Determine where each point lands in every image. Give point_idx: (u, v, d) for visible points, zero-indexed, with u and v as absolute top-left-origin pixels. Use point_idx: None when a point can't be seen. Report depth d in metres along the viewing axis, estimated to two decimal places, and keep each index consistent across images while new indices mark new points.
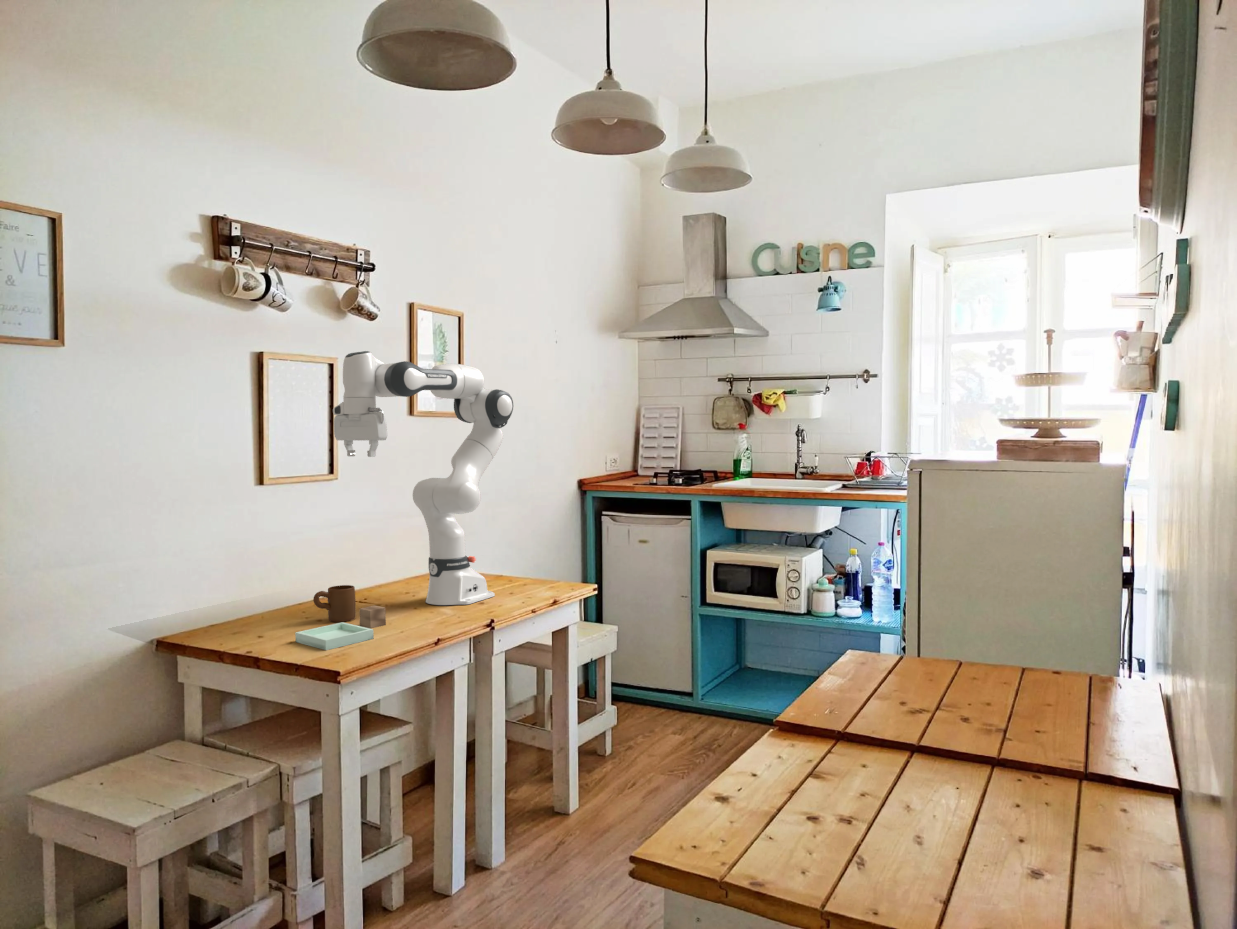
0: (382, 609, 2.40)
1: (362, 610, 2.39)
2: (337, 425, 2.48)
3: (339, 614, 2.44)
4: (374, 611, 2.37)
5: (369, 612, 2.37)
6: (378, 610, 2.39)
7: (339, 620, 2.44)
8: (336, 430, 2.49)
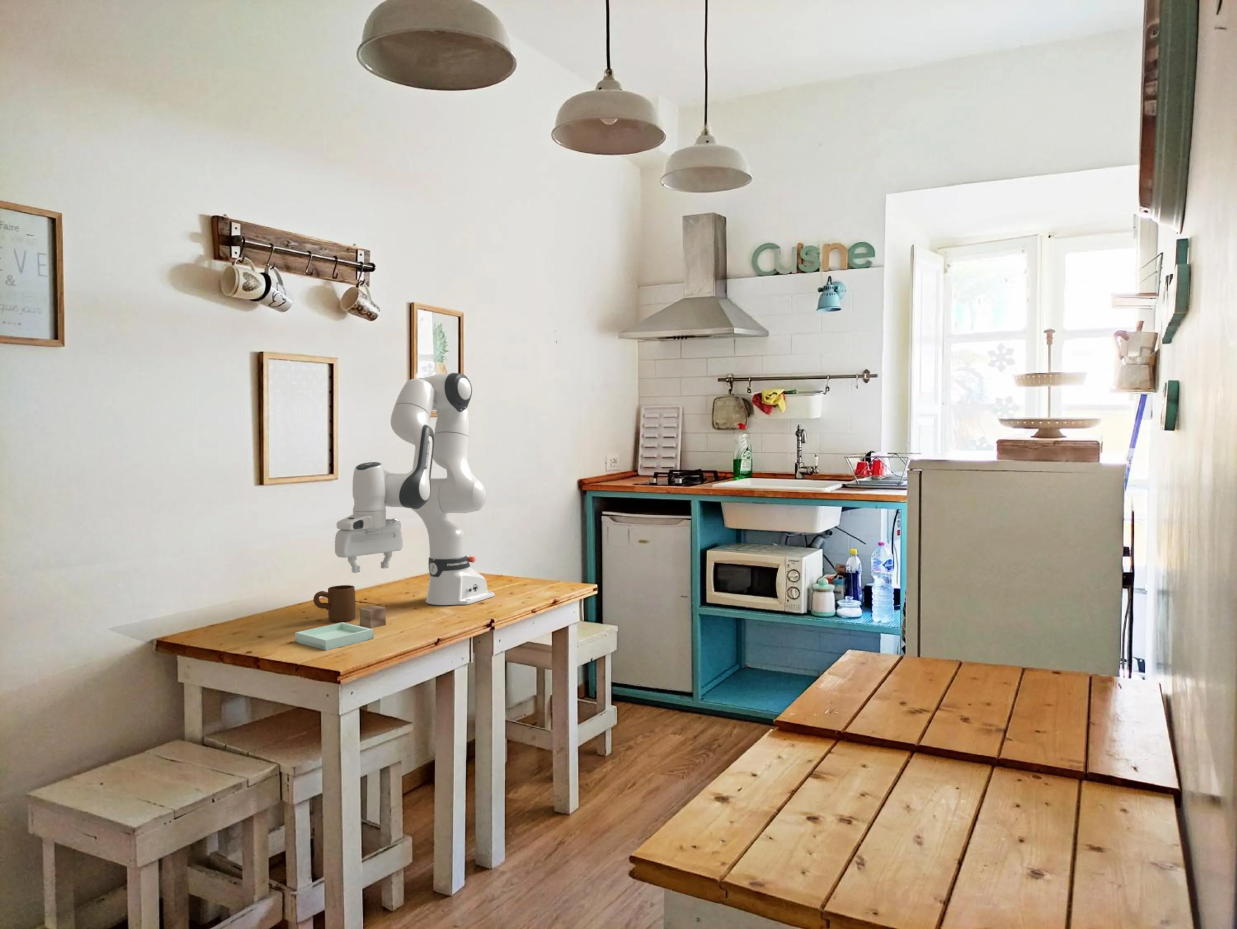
0: (382, 609, 2.40)
1: (362, 610, 2.39)
2: (348, 541, 2.31)
3: (339, 614, 2.44)
4: (374, 611, 2.37)
5: (369, 612, 2.37)
6: (378, 610, 2.39)
7: (339, 620, 2.44)
8: (347, 547, 2.31)
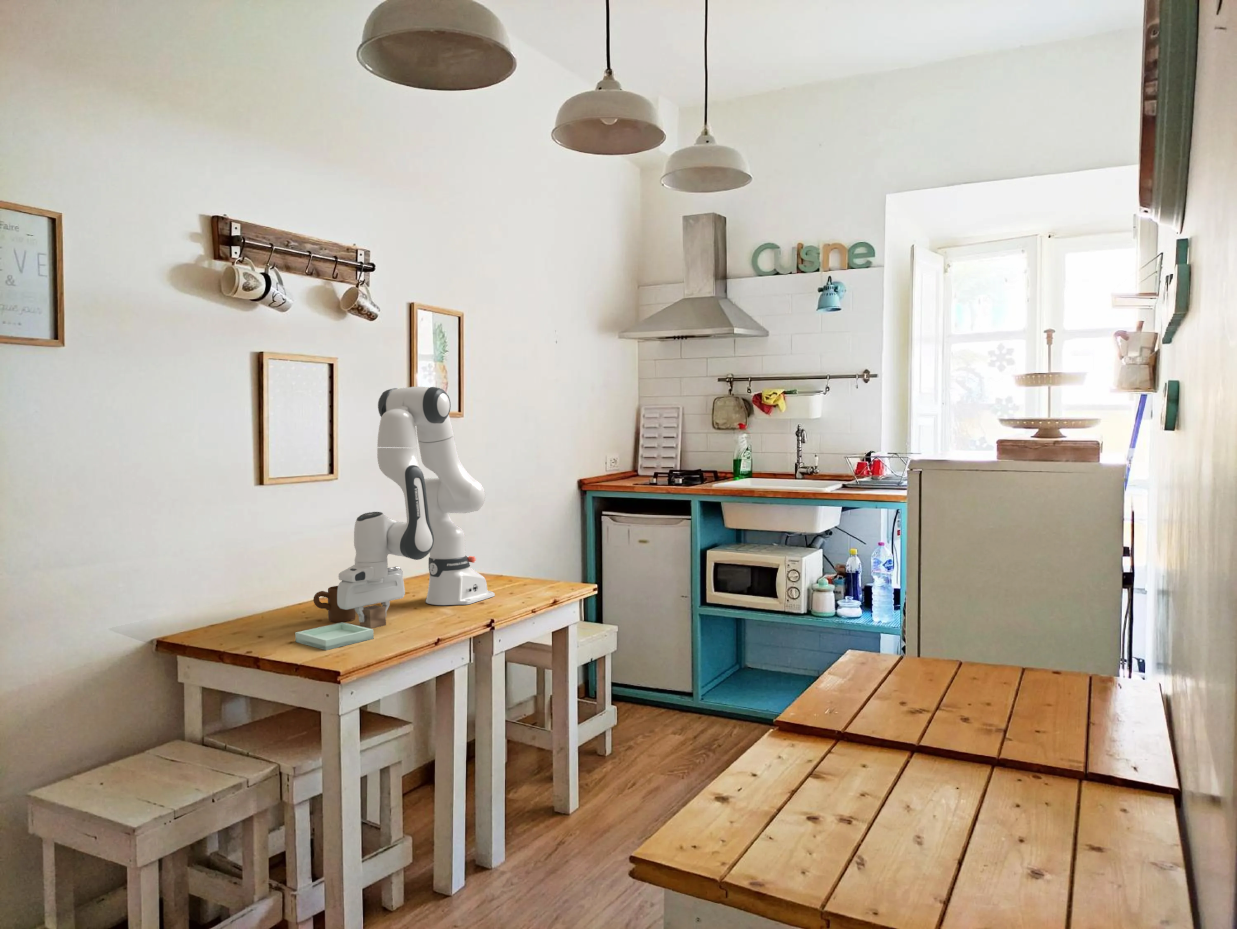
0: (382, 609, 2.40)
1: (362, 610, 2.39)
2: (351, 593, 2.32)
3: (339, 614, 2.44)
4: (374, 611, 2.37)
5: (369, 612, 2.37)
6: (378, 610, 2.39)
7: (339, 620, 2.44)
8: (349, 599, 2.32)
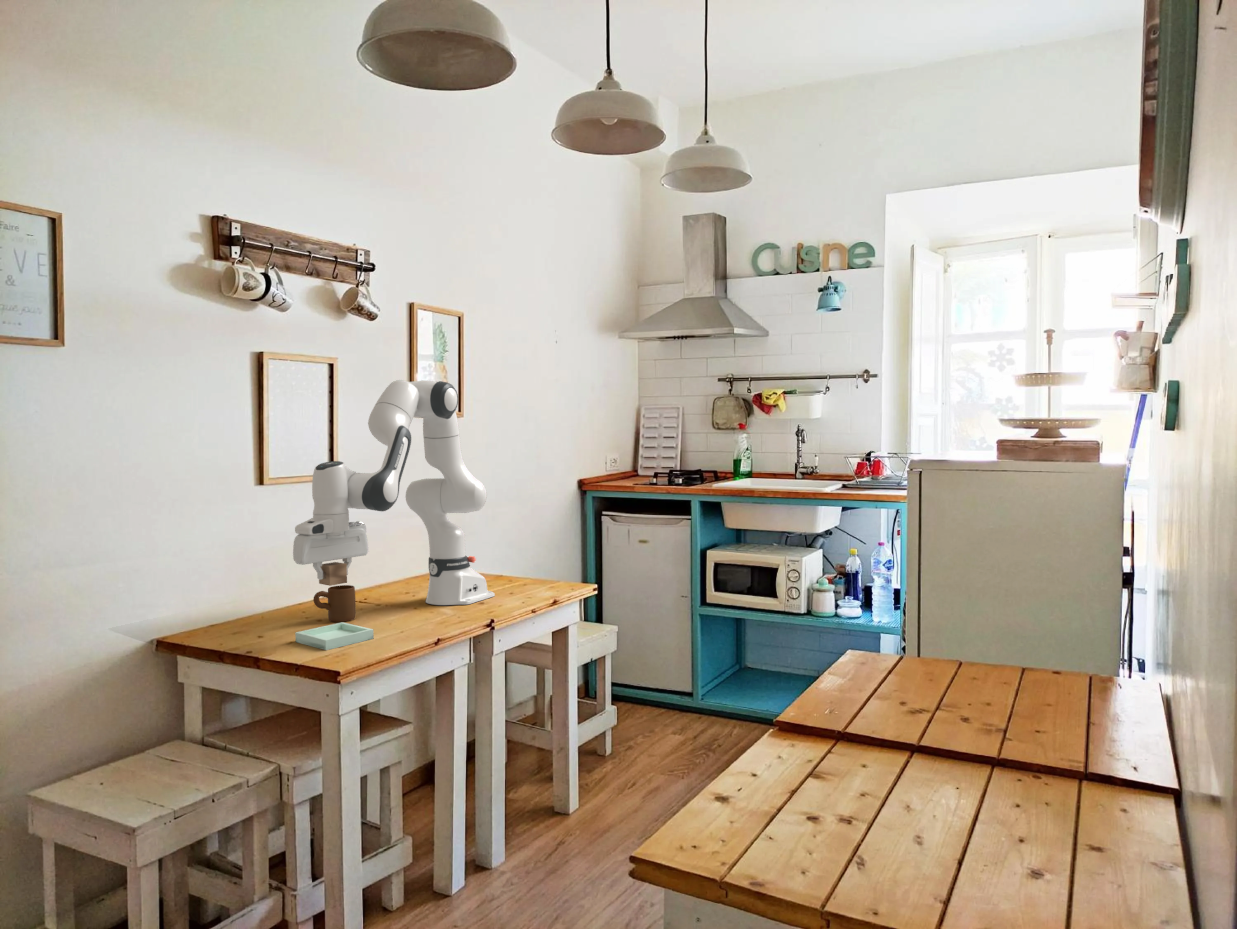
0: (343, 565, 2.23)
1: (321, 566, 2.22)
2: (307, 547, 2.15)
3: (339, 614, 2.44)
4: (333, 567, 2.21)
5: (328, 568, 2.20)
6: (338, 566, 2.22)
7: (339, 620, 2.44)
8: (305, 553, 2.15)
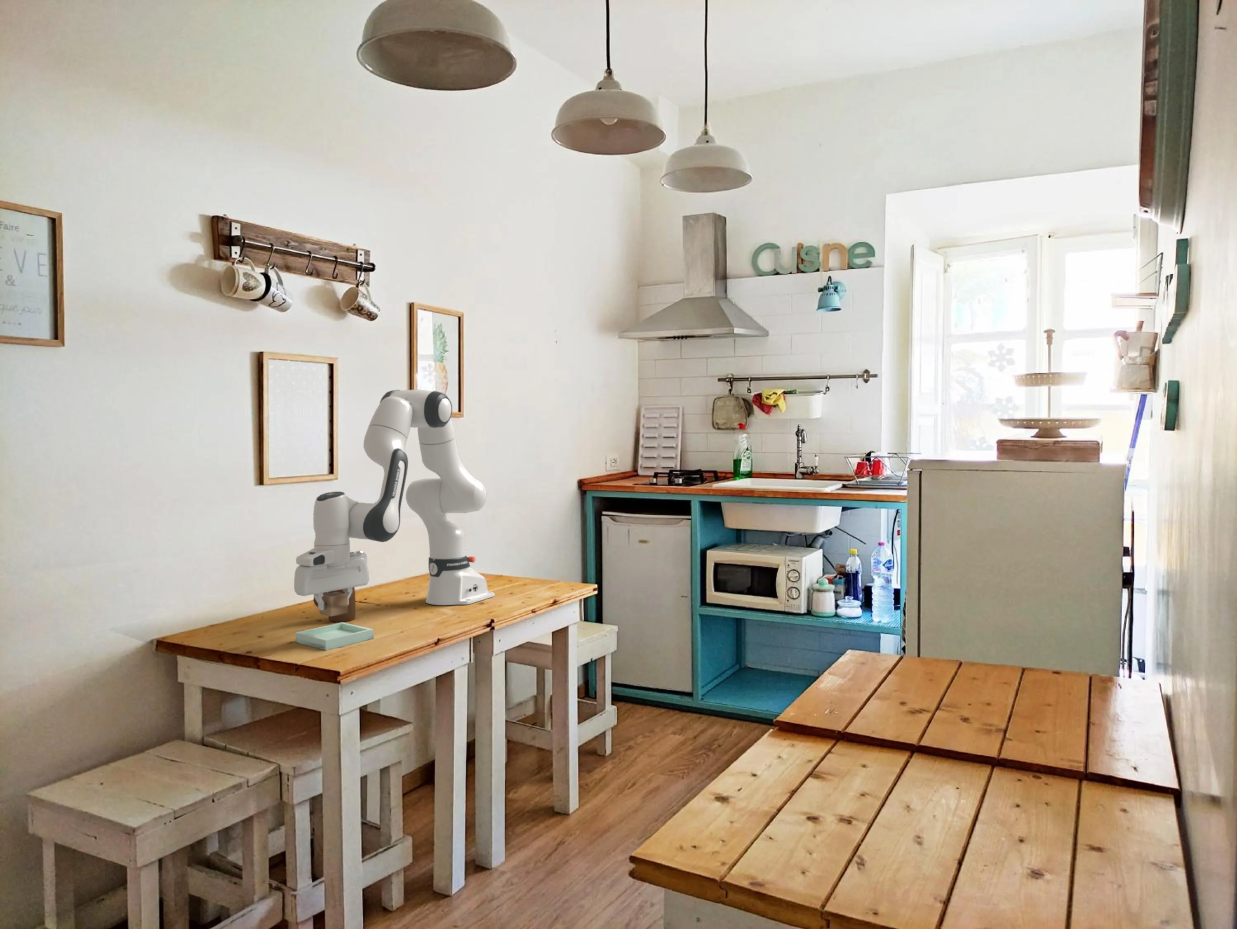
0: (344, 595, 2.23)
1: None
2: (308, 578, 2.15)
3: None
4: (334, 597, 2.21)
5: (329, 598, 2.20)
6: (339, 596, 2.22)
7: (339, 620, 2.44)
8: (307, 584, 2.15)
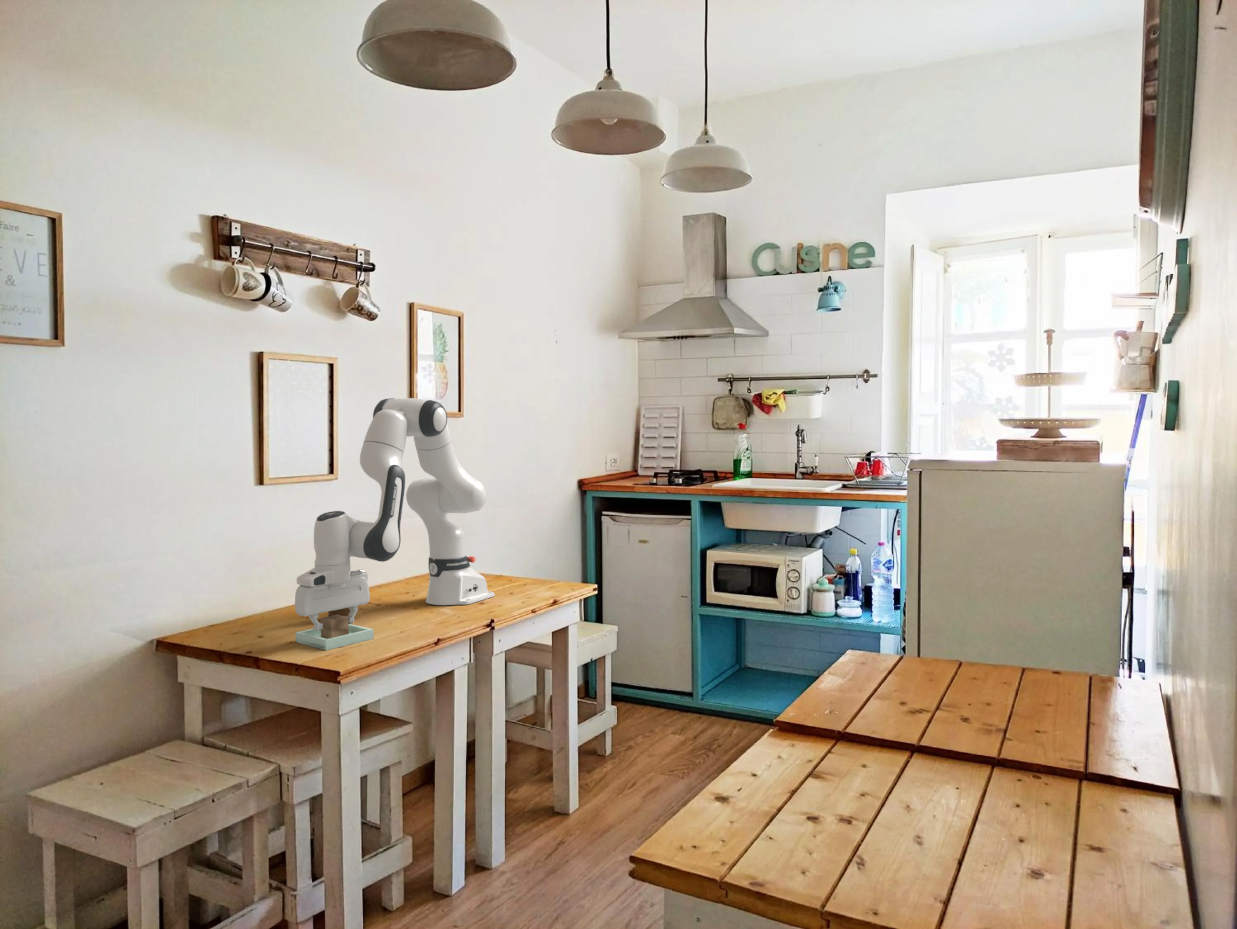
0: (345, 619, 2.23)
1: (323, 620, 2.22)
2: (309, 598, 2.16)
3: (339, 614, 2.44)
4: (335, 621, 2.21)
5: (330, 622, 2.21)
6: (340, 620, 2.22)
7: None
8: (307, 604, 2.16)
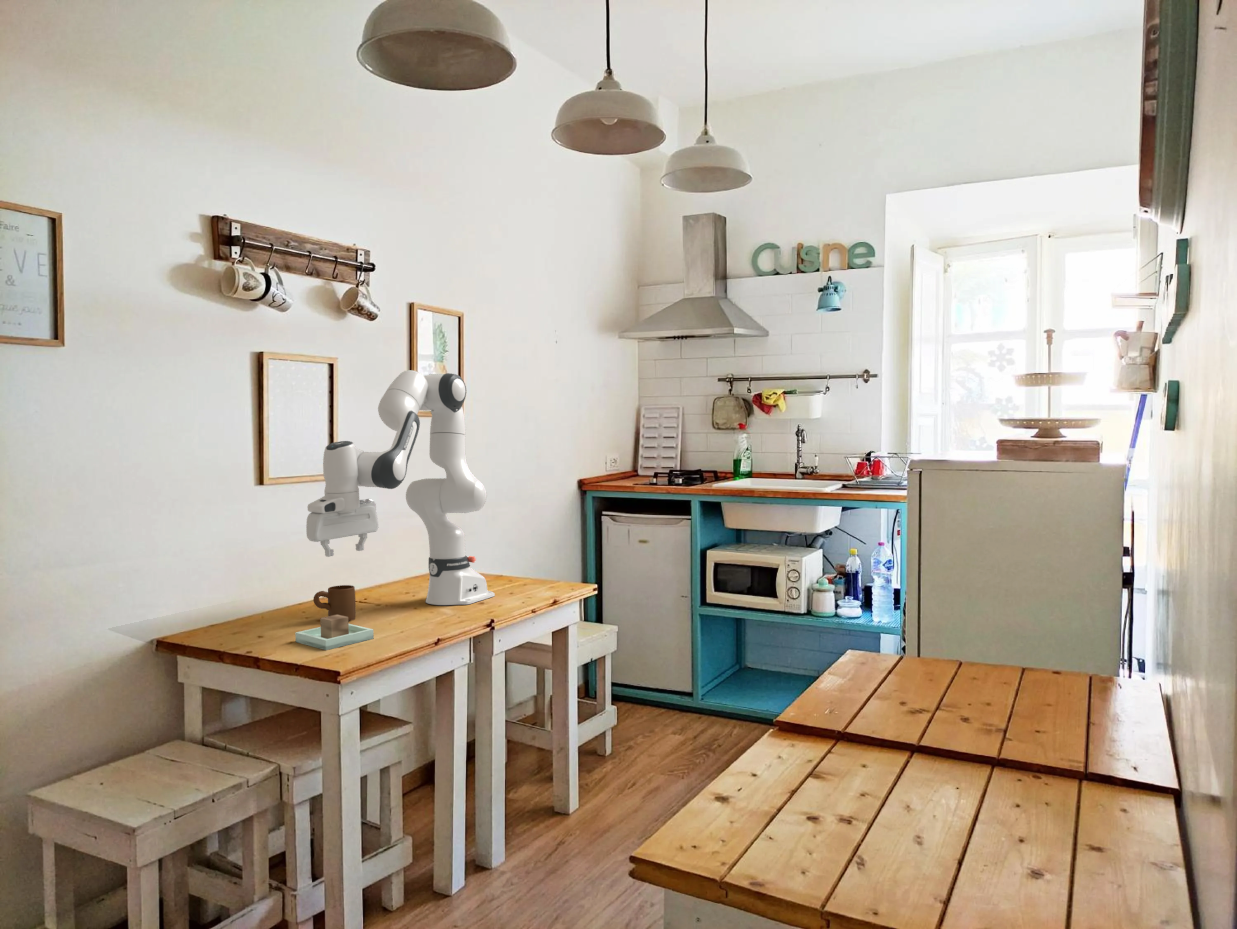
0: (345, 619, 2.23)
1: (323, 620, 2.22)
2: (320, 524, 2.22)
3: (339, 614, 2.44)
4: (335, 621, 2.21)
5: (330, 622, 2.21)
6: (340, 620, 2.22)
7: None
8: (318, 530, 2.22)
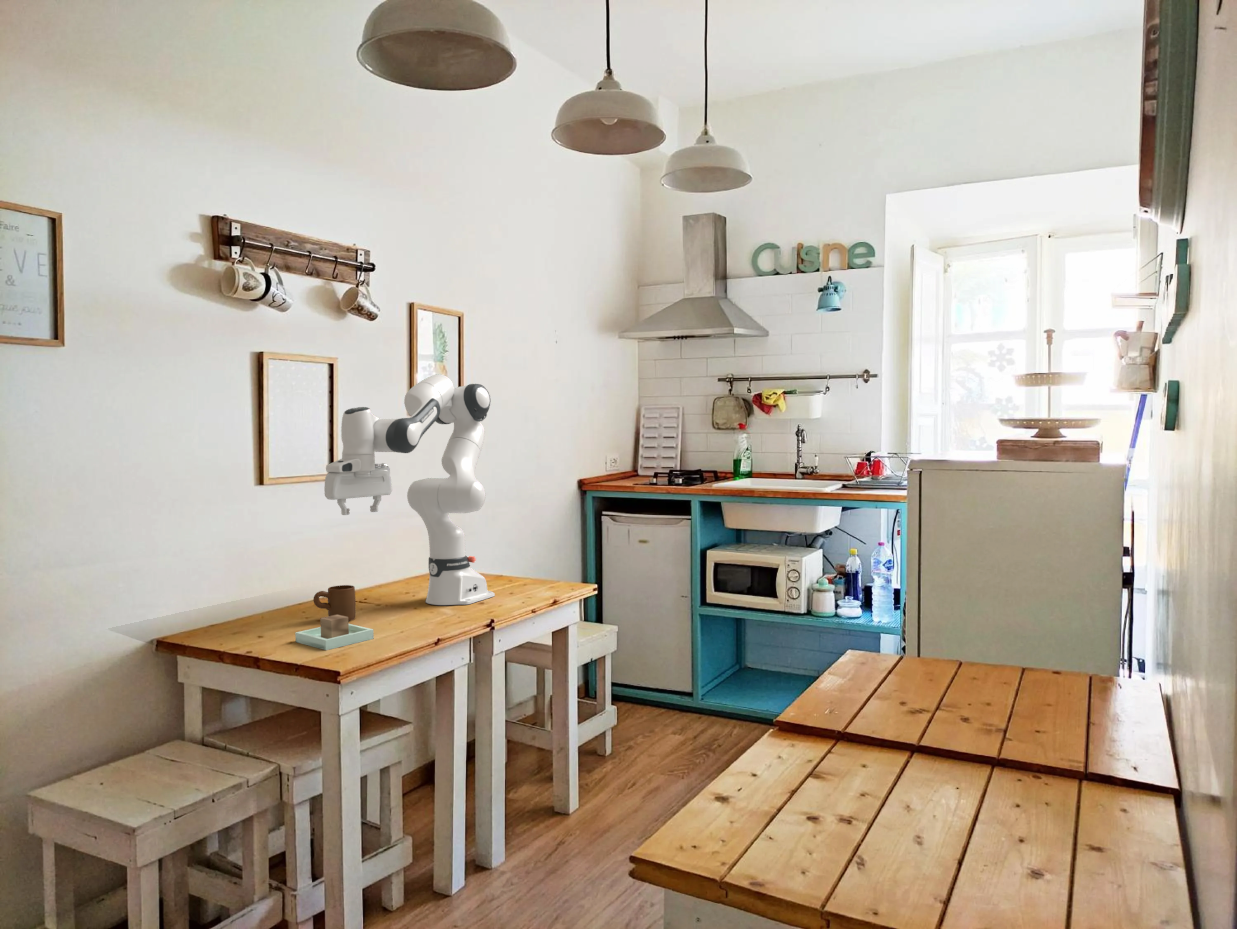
0: (345, 619, 2.23)
1: (323, 620, 2.22)
2: (338, 483, 2.35)
3: (339, 614, 2.44)
4: (335, 621, 2.21)
5: (330, 622, 2.21)
6: (340, 620, 2.22)
7: None
8: (336, 489, 2.35)
